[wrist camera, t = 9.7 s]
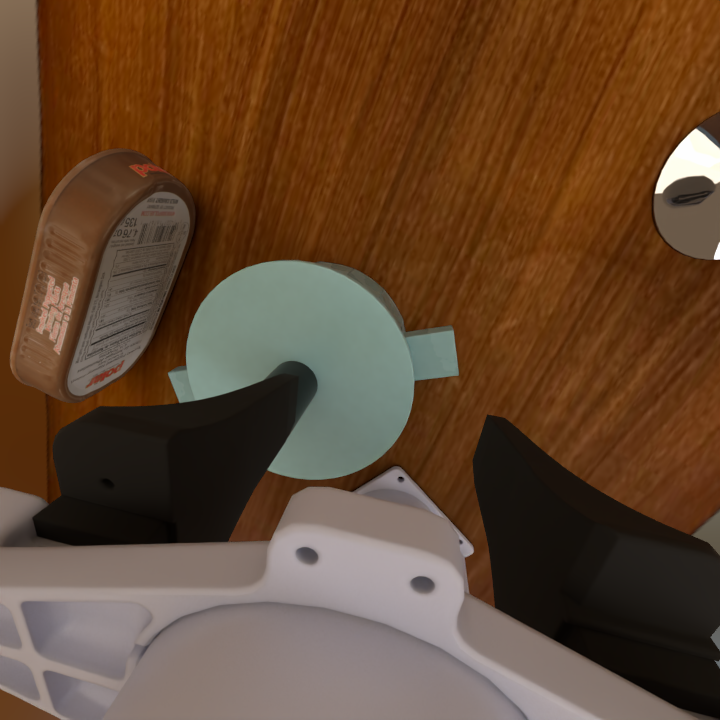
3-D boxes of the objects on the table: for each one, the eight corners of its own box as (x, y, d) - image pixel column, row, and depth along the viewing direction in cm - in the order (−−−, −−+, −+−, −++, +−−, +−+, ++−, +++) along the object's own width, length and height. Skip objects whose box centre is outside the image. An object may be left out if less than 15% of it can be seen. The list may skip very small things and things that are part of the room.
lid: (429, 460, 20) (432, 533, 15) (236, 474, 22) (186, 540, 18) (393, 234, 16) (381, 237, 11) (166, 283, 19) (79, 301, 14)
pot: (458, 403, 24) (469, 455, 19) (242, 426, 27) (198, 475, 22) (437, 236, 21) (443, 240, 15) (195, 286, 24) (128, 304, 19)
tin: (178, 160, 21) (40, 121, 14) (223, 190, 22) (112, 168, 14) (112, 353, 27) (-13, 404, 19) (148, 375, 27) (39, 435, 19)
